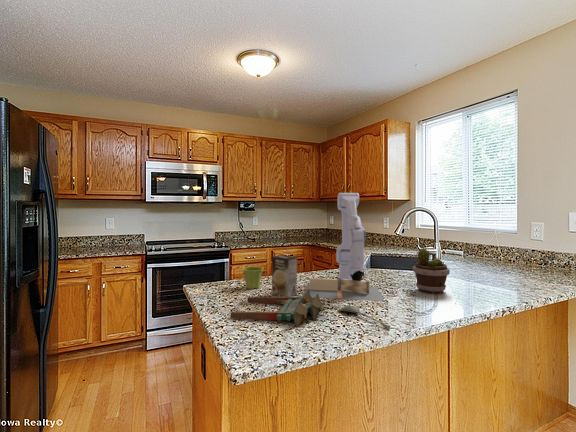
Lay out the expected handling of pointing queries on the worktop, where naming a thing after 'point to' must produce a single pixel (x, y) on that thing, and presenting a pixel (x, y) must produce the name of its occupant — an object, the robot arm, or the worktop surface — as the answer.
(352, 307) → the soupspoon
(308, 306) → the miniature gate
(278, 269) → the coffee box
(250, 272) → the plant pot
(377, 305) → the worktop surface
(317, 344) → the worktop surface
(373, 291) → the board
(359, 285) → the tan wooden plank
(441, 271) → the flowerpot
